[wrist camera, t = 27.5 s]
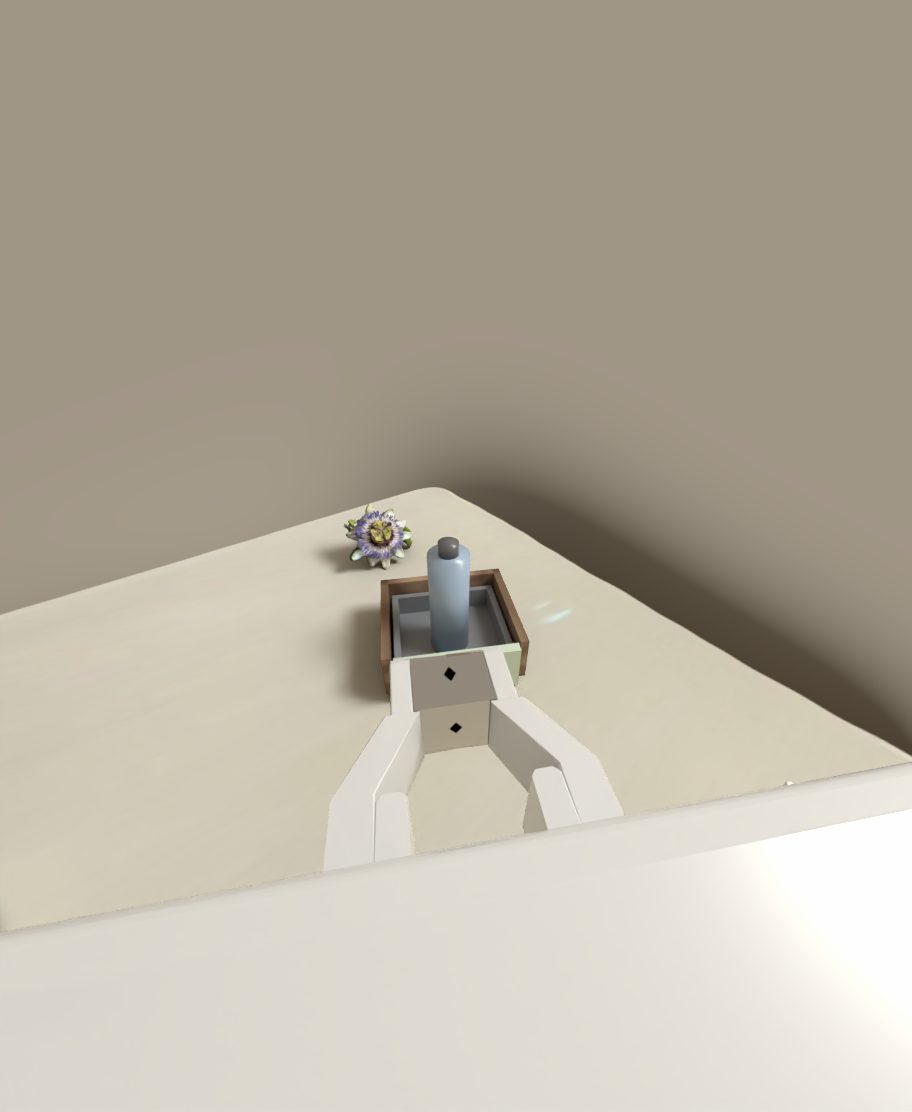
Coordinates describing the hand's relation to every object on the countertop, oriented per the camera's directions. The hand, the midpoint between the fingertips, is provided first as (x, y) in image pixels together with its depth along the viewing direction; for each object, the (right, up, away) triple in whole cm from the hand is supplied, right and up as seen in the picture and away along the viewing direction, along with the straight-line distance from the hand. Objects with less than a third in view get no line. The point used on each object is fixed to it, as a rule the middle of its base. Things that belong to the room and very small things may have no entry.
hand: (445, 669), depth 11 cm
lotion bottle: (-1, -8, +43) cm, 44 cm away
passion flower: (-14, +3, +63) cm, 64 cm away
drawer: (-1, -9, +44) cm, 45 cm away
